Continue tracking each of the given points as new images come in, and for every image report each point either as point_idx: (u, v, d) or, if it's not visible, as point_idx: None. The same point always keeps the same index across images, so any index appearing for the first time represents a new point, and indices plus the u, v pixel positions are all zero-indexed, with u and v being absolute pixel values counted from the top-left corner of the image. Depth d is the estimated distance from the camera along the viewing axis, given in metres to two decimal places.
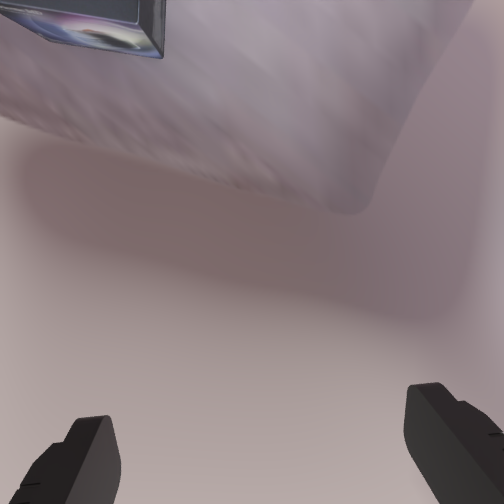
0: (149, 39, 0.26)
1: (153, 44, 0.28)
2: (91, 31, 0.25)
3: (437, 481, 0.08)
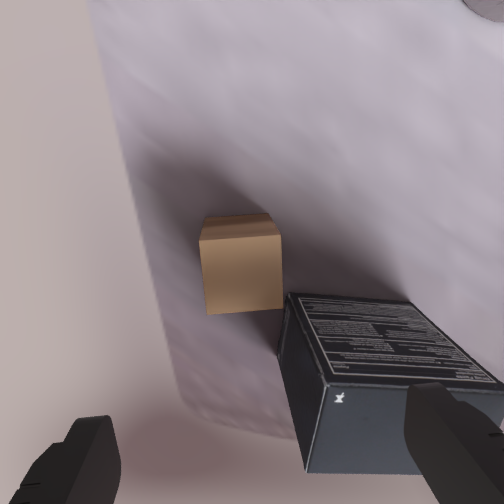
0: None
1: None
2: None
3: (437, 481, 0.08)
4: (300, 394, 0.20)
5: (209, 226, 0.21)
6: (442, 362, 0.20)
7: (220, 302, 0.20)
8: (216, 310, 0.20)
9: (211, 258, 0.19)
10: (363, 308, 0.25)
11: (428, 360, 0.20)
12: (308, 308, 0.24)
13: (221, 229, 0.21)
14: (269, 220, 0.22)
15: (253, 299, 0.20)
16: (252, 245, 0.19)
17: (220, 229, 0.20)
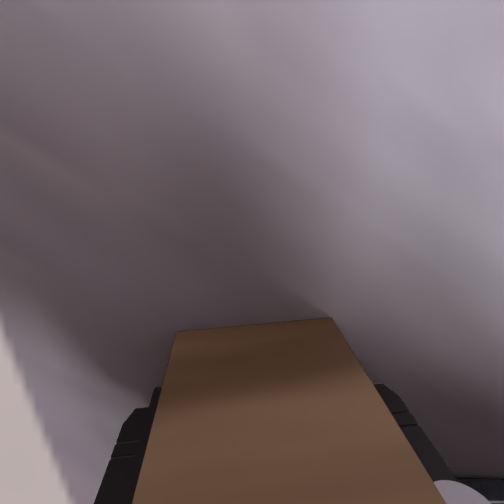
0: None
1: None
2: None
3: None
4: None
5: (179, 401, 0.07)
6: None
7: None
8: None
9: None
10: None
11: None
12: None
13: (215, 437, 0.06)
14: (354, 368, 0.08)
15: None
16: None
17: (211, 441, 0.06)
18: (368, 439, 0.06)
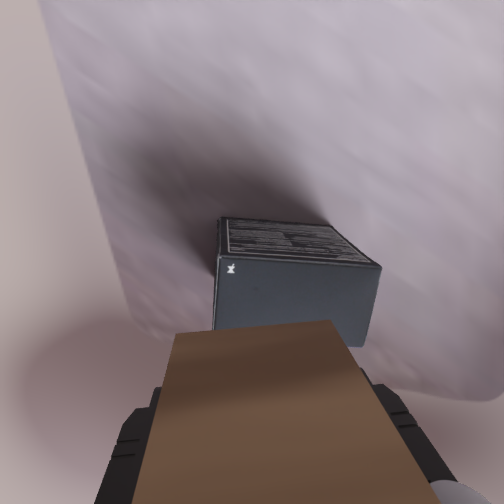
0: None
1: None
2: None
3: None
4: (214, 285, 0.24)
5: (178, 403, 0.07)
6: (331, 252, 0.23)
7: None
8: None
9: None
10: (283, 226, 0.29)
11: (319, 250, 0.23)
12: (231, 224, 0.28)
13: (213, 439, 0.06)
14: (352, 370, 0.08)
15: None
16: None
17: (209, 444, 0.06)
18: (365, 441, 0.06)
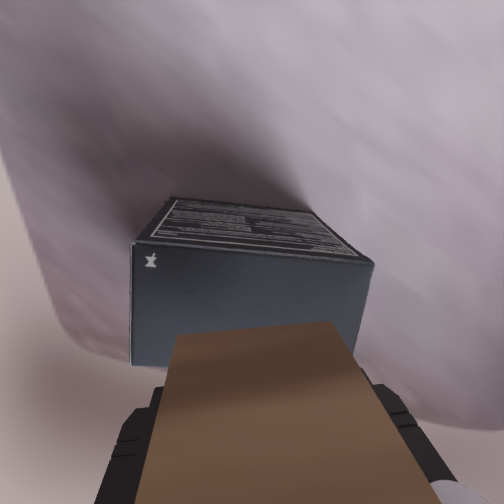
0: None
1: None
2: None
3: None
4: None
5: (179, 405, 0.07)
6: (304, 241, 0.16)
7: None
8: None
9: None
10: (248, 210, 0.22)
11: (288, 238, 0.17)
12: (179, 205, 0.21)
13: (215, 441, 0.06)
14: (353, 371, 0.08)
15: None
16: None
17: (211, 445, 0.06)
18: (367, 443, 0.06)
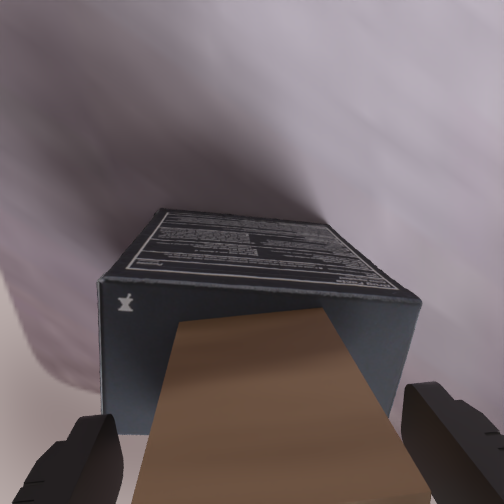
0: None
1: None
2: None
3: (434, 480, 0.08)
4: None
5: (182, 380, 0.08)
6: (326, 268, 0.13)
7: None
8: None
9: None
10: (252, 224, 0.18)
11: (305, 265, 0.13)
12: (170, 219, 0.17)
13: (214, 409, 0.07)
14: (340, 350, 0.09)
15: None
16: None
17: (210, 412, 0.07)
18: (348, 408, 0.07)
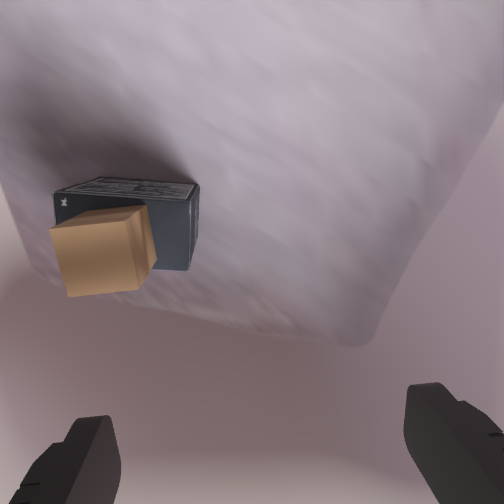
0: None
1: None
2: None
3: (437, 481, 0.08)
4: None
5: (77, 217, 0.23)
6: (160, 193, 0.28)
7: (79, 285, 0.22)
8: (76, 293, 0.22)
9: (63, 244, 0.21)
10: (147, 182, 0.34)
11: (151, 192, 0.28)
12: (100, 180, 0.33)
13: (83, 219, 0.22)
14: (136, 210, 0.24)
15: (109, 281, 0.22)
16: (99, 231, 0.21)
17: (81, 219, 0.22)
18: (122, 216, 0.22)
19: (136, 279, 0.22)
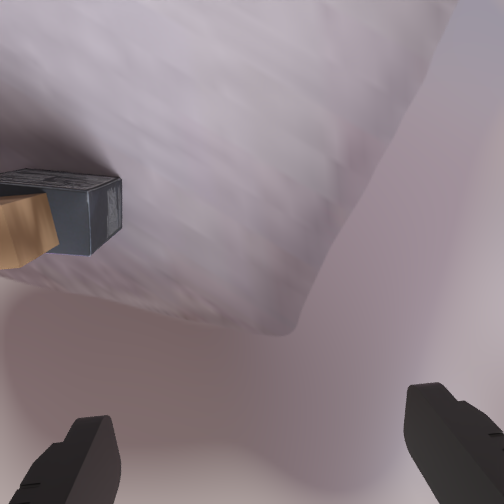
0: (104, 242, 0.35)
1: (109, 238, 0.36)
2: None
3: (437, 481, 0.08)
4: None
5: None
6: (66, 184, 0.31)
7: None
8: None
9: None
10: (68, 174, 0.36)
11: (57, 183, 0.31)
12: (22, 171, 0.35)
13: None
14: (28, 197, 0.26)
15: None
16: None
17: None
18: (7, 201, 0.25)
19: (17, 258, 0.24)
